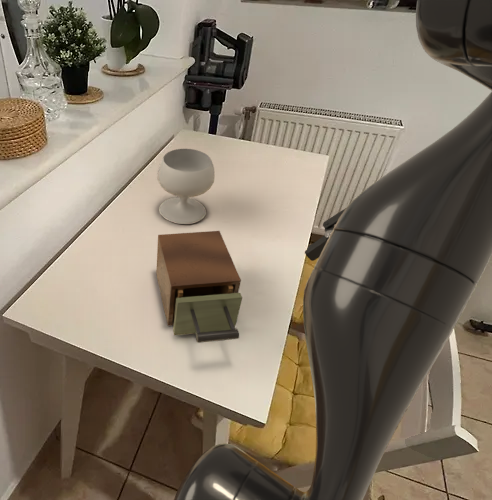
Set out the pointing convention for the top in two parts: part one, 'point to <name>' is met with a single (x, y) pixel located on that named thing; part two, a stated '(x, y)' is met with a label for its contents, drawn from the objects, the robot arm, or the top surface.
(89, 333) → the top surface
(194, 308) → the drawer
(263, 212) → the top surface
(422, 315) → the robot arm
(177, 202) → the chalice
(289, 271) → the top surface
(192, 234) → the cabinet
